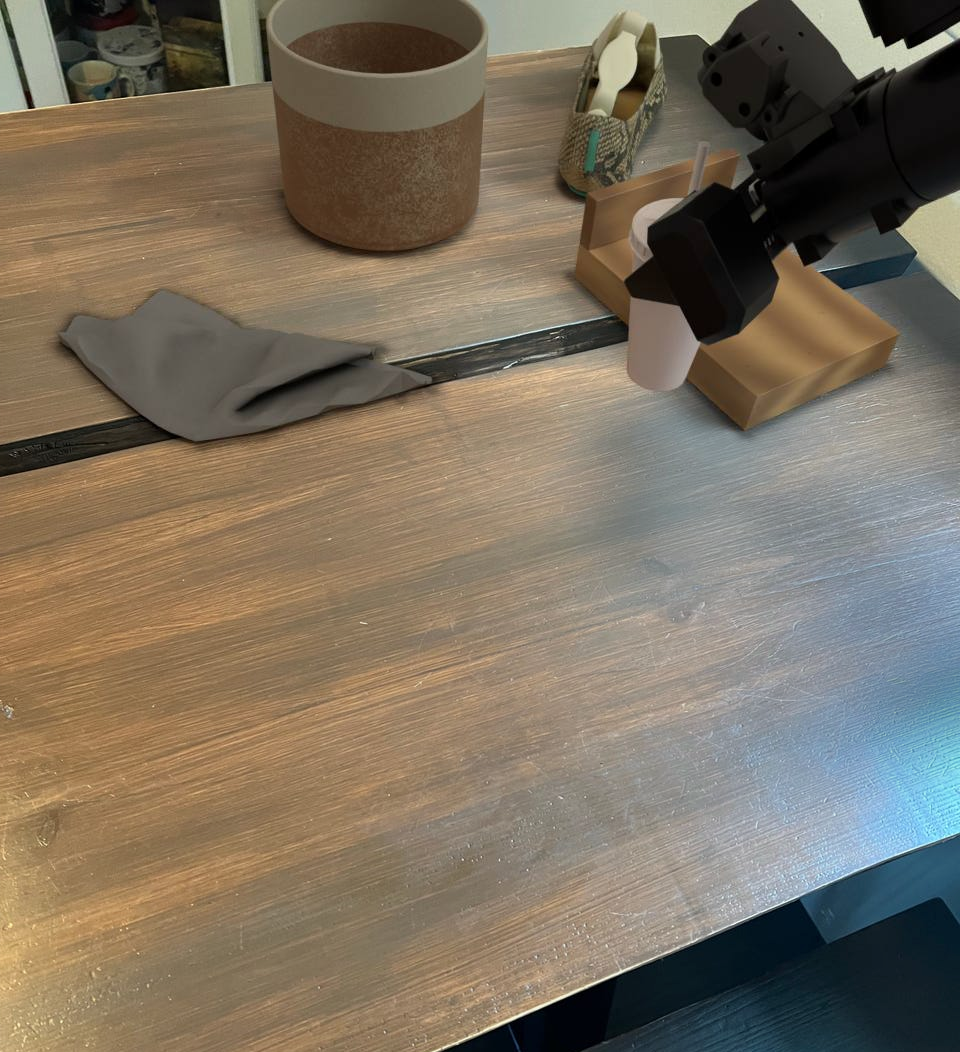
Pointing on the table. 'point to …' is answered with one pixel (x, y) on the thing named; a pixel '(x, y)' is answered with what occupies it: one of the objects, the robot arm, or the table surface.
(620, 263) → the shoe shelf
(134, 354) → the cloth
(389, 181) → the planter
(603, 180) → the ballet flat
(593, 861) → the table surface
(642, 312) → the smoothie
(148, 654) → the table surface
